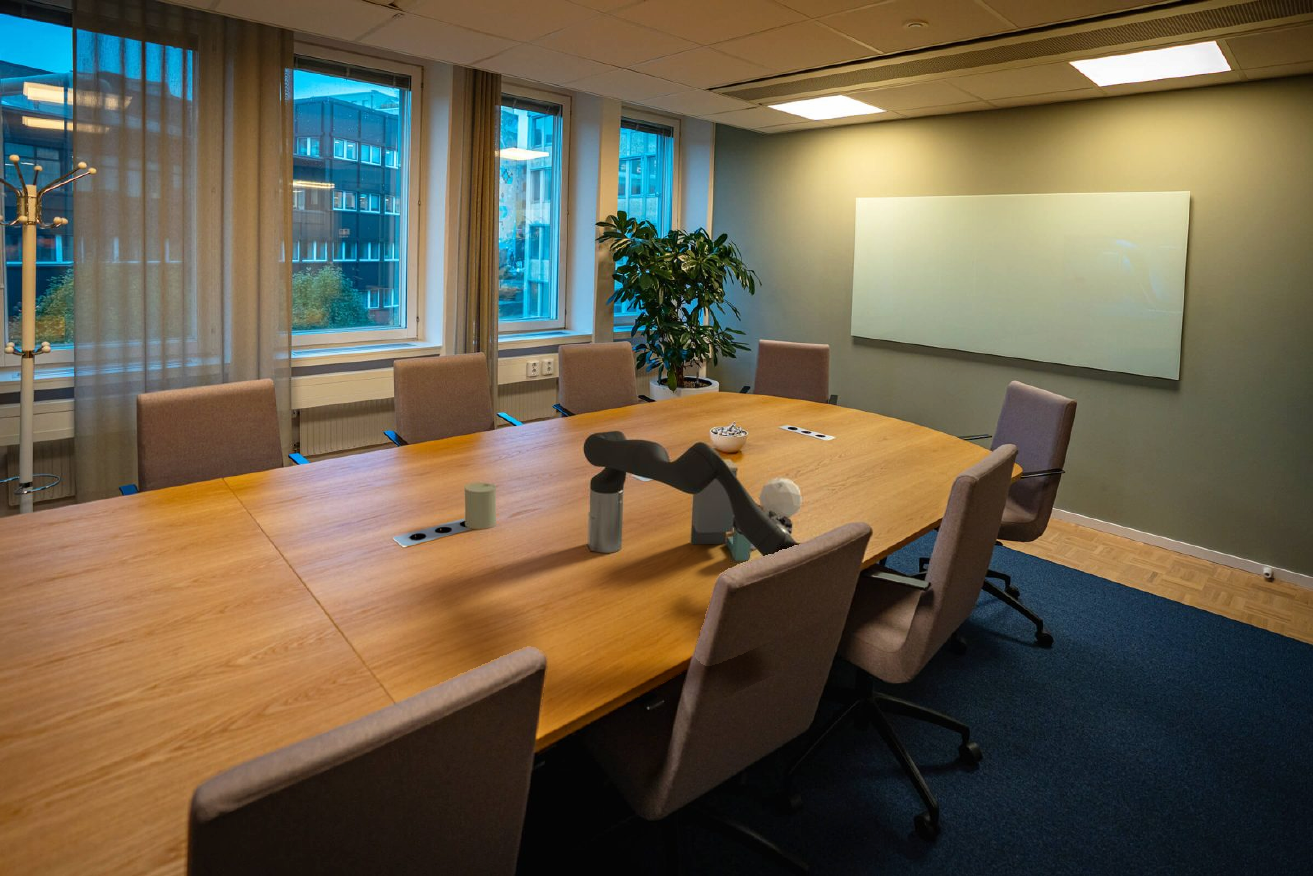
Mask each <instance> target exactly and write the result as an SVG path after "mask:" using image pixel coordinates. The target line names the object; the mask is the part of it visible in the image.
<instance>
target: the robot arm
mask: <svg viewBox="0 0 1313 876" xmlns="http://www.w3.org/2000/svg"><path fill="white" fill-rule="evenodd" d="M583 453H584V456H585V458H586V461H587V462H588V463H589V464H591V466H593V467H598V468H600V467H601V468H603V469H602V471H600V472H599V473H597V474H596V475H594V476H593V477H591V479H590V484H589V485H590V486H589V512H588V526H587V527H588V528H587V529H588V530H587V531H588V533H587V545H588V550H589V552H595V553H601V554H603V553H604V554H606V553H607V554H609V553H616V552H618V551H620V550H621V549H622V545H623V521H624V519H623V516H624V489H625V487H624V486H625V482H626V478H627V474H631V475H634V476H637V477H641V478H643V479H649V480H652V481H657V482H660V483H662V484H665V485H666V486H668V487H669V486H670V487H671V488H674V489H676V490H678V491H681V492H683V493H685V494H689V495H693V494H698V493H699V492H701V491H702V490H704V489H705V488H706V487H707V486H708V485H709V484H710V483H711V482H713V481H714V480H715V479H717V480H718V481H719V482H720V483H721V485H722V486H723V487H724V489H725V491H726V492H727V495H728V497H729V500H730V503H731V507H732V511H733V515H734V517H733V530H734V529H735V530H736V531H737V532H738V533H739V534H741V535H742V534H743V535H744V537H745V538H746V539H747V540H748V541H749V542H750V543H751V544H752V545H753V546H754V547H755V548H756V550H757V551H758V552H759V553H760V554H761V556H762V557H763V556H765V555H768V554H774V553H775V552H778V551H779V550H782V549H787V548H789V547H792V546H794V545H799V544H802V543H801V542H797V541H796V540H794V538H793V537H792V535H791V534H792V531H793V523H792V522H791V520H790V519H789V518H787V517H786V516H783V518H780V516H778V515H776V514H775V513H773V511H769V516H768V515H767V514H766V513H765V512H764V511H763V510H762V509H761V508H760V507H759V506H758V505H759V504H758V503H757V502H756V501H755V500H754V499H753V497H752V496H751V495H750V494H749V492H748V491H747V489H746V488H745V487H744V486H743V483H742V482H741V481H740V480H739V478H738V477H737V475H736V476H735V475H734V473H733V472H732V471H731V469H730V468H729V467H728V465H727V464H726V463H725V462H724V460H723V458H722V456H720V454H719V453H718V451H716V450H715V449H714V448H713V447H712V446H710V445H709V444H708V443H705V442H701V441H699V442H695V443H694V444H693V445H691V446H690V447H689V448H688V449H687V450H686V451H685V452H684V453H683V454H682V455H681V454H680V456H679V457H677V459H675V460H673V461H671V459H670V457H669V454H668V451H667V450H666V449H665V447H664V446H663V445H662V444H660V443H658V442H656V441H651V440H646V439H627V438H626V435H625V434H624V433H623V432H622V431H619V430H612V431H602V432H601V431H600V432H594V433H592V434H590V435H588V436H587V438H586V439H585V440H584V443H583ZM756 503H757V504H758V505H757V504H756Z"/></svg>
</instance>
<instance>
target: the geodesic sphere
mask: <svg viewBox="0 0 1313 876" xmlns="http://www.w3.org/2000/svg"><path fill="white" fill-rule="evenodd" d="M758 499H759V505H761V506H763V511H764V513H765V514H766V515H767V516H768V517H769V511H773V513H775V514H776V515H778V516H780V518H783V516H786V517H787V518H788V519H789V518H791V517H793V516H794V515H796V514H797V513H798V512H799V511H800V509H801V506H802V501H803V498H802V493H801V491H800V486H798V485H797V484H795V483H794V482H793V481H792V480H791V479H790V478H783V477H780V476H779V477H775V478H773V479H771V480H770V481H769V482H766V483H765V484H764V485H763V486H762V488H761V491H760V494H759V496H758Z"/></svg>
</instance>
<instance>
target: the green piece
mask: <svg viewBox="0 0 1313 876" xmlns="http://www.w3.org/2000/svg"><path fill="white" fill-rule="evenodd" d="M732 535H733V536H726V546H727V548H728V550H729V551H730V552H731V557H732V558H733V559H734V560H735V562H748V561H747V560H749V559H750V560H751V553H752V551H751V543H750V542H749V541H748V540H747V539H746V538H745V537H744V535H743V534H742V535H741V534H739V533H738V532H737V531H736V530H735V529H734V528H733V534H732Z"/></svg>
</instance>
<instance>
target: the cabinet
mask: <svg viewBox="0 0 1313 876" xmlns="http://www.w3.org/2000/svg"><path fill="white" fill-rule="evenodd" d="M722 459H723V458H722ZM723 460H724V462H725V463H726V464H727V465H728V467H729V468H730V469H731V471H732V472H733V473H734V475H735V476H736V477H737V473H738V470H739V467H738V466H737V465H736V464H735V463H734V462H733V461H732V460H731V459H730V458H728V459H727V458H726V459H723ZM691 513H692V514H691V529H690V543H691V545H709V544H710V545H715V544H716V545H717V544H726V543H727V533H734V527H733V517H734V515H733V511H732V507H731V503H730V500H729V497H728V495H727V492H726V491H725V489H724V487H723V486H722V485H721V483H720V482H719V481H718V480H717V479H715V480H714V481H713V482H711V483H710V484H709V485H708V486H707V487H706V488H705V489H704V490H702V491H701V492H699V493H698V494H692V509H691Z"/></svg>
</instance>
